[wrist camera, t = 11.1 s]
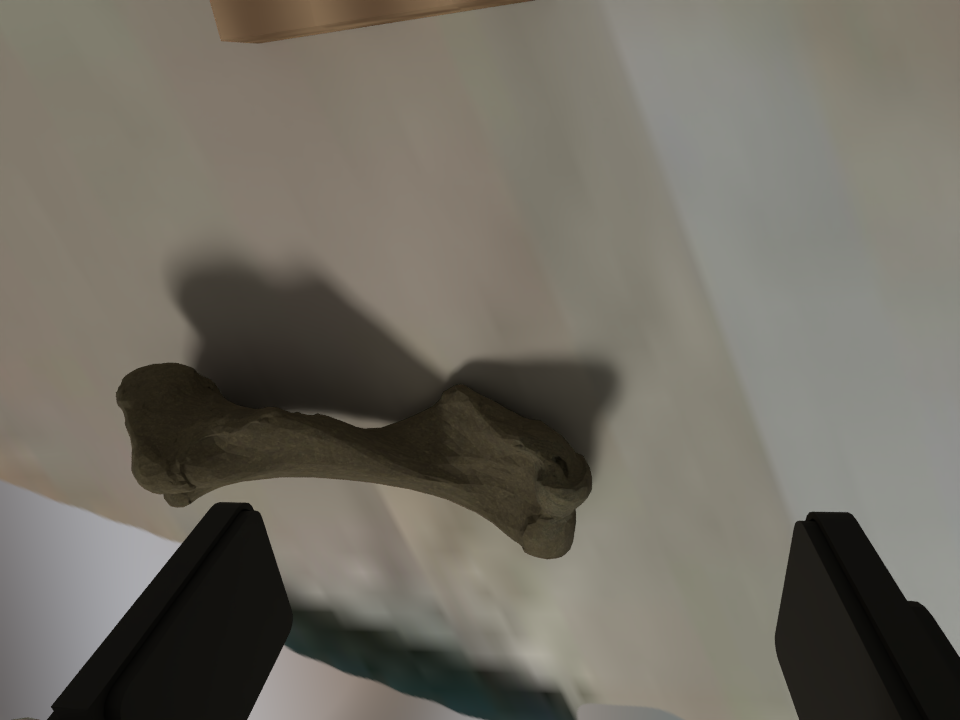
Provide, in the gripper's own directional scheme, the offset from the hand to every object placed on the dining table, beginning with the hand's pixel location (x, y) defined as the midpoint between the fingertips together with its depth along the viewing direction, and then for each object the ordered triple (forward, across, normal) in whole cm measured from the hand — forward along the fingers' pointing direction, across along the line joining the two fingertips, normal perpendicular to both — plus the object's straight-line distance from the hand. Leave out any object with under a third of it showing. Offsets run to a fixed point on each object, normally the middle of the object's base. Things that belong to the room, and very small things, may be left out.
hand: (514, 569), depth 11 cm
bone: (+27, +13, +14) cm, 33 cm away
